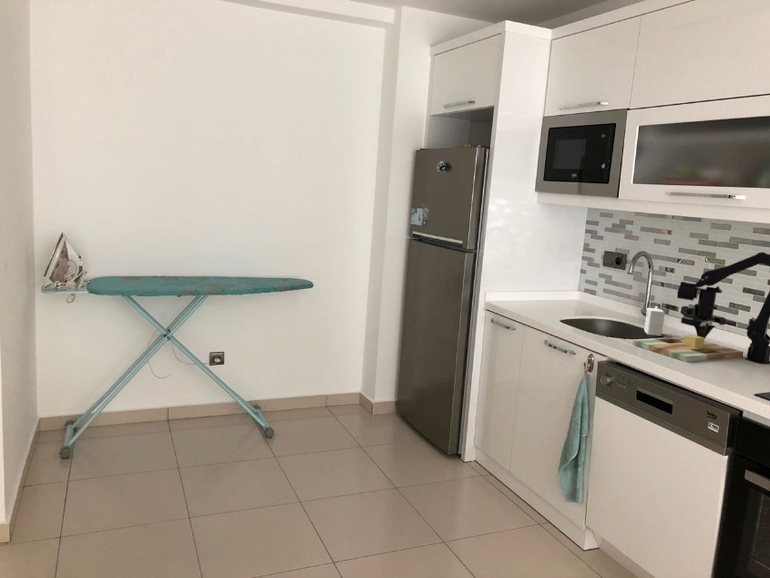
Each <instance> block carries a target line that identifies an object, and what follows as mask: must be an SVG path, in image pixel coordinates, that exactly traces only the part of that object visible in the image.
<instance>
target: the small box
mask: <svg viewBox="0 0 770 578" xmlns="http://www.w3.org/2000/svg"><path fill="white" fill-rule="evenodd" d="M645 314H646V315H645V323H644V332H645V333H646V334H647V335H648V336H657V337H659V336H660V337H662V335H663V327H664V321H665V314H666V313H665V311H664V310H662V309H661V308H654V307H646V313H645Z"/></svg>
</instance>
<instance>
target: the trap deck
mask: <svg viewBox="0 0 770 578" xmlns="http://www.w3.org/2000/svg"><path fill="white" fill-rule="evenodd" d="M683 342H684V336H677V337H659V338H658V337H657V338H645V339H643V338H642V339H633V340H632V346H635V347H637V348H641V349H644V350H648V351H650V352H654V353H656V354H660V355H662V356H666V355H667V356H666V357H669V356H670V358H672V357H673V359H675V358H676V359H677V360H679V361H682V362H685V363H690V361H692V362H702V361H711V360H712V361H713V360H724V359H733V358H735V359H737V358H743V357H744V351H742V350H739V349H734V348H731V347H728V346H724V345H720V344H717V343H713V342H709V341H705V340H704V345H703V347H691V346H688V345H685V344H683Z"/></svg>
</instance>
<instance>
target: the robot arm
mask: <svg viewBox="0 0 770 578" xmlns="http://www.w3.org/2000/svg"><path fill="white" fill-rule="evenodd" d="M760 264H763V265H766V266H768V267H770V253H767V252H764V251H760V252H757V253H756V254H754V255H752V256H749V257H746V258H744V259H742V260H739V261H737V262H734V263H731V264H730V265H727V266H724V267H723V266H722V267H718V268H713V269H710V270H707V271H704V272H703V273H702V274H701V276H700V279H699V280H697V281H696V283H692V282H687V281H681V282H680V284H679V286H678V287H679V288H678V290H677V299H680V300H685V301H691V302H692V301H694V300H695V299H698V301H697V303H694V306H693V307H689V306H687V305H683V306H681V308H680V314H681V315H682V317H681V319H680V323H681V324H684V325H687V326H691V327H694V329H695V331H696V336H700V337H703V338H705V339H706V337H708V335H709V334H710V333H711V331H712V330H713V329H714V328H716V325H713V323H717V324H719V325H720V326H724V325H726V322H727V319H726V318H725V317H724V316H720V315H716V314H714V310H717V306H716V305H715V303H716V297H717V294H722V293H723V290H722V289H721V287H720V286H719V285H718V286H716V287H713V286H714V285H716V284H718V283H720V282H721V281H723V280H725V279H727V278H728V277H730V276H731V275H735V274H737V273H740V272H742V271H745V270H747V269H749V268H752V267H755V266H758V265H760ZM705 286H706V288H702V287H705ZM769 323H770V290H769V291H768V293H767V296H766V298H765V300H764V302H763V305H762V307H761V308H760V310H759V312H758V315H757V317H756V318H755V317H751V318H750V319H749V323H748V326H747V327H746V328H745V330H747V331H746V335H747V338H748V339H749V340H750V341H751V342H749V343H750V344H749V346H748V348H747V352H746V353H747V354H746V357H745V358H744V359H745V360H747V361H749V362H754V363H757V364H770V336H769V335H768V333H767V332H768V328H769Z"/></svg>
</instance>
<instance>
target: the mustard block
mask: <svg viewBox="0 0 770 578" xmlns="http://www.w3.org/2000/svg"><path fill="white" fill-rule="evenodd" d="M683 337H684V342H683V344H685V345H688V346H691V347H703V345H704V341H705V340H706V338H703V337H700V336H697V334H686V335H684V336H683Z"/></svg>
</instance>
